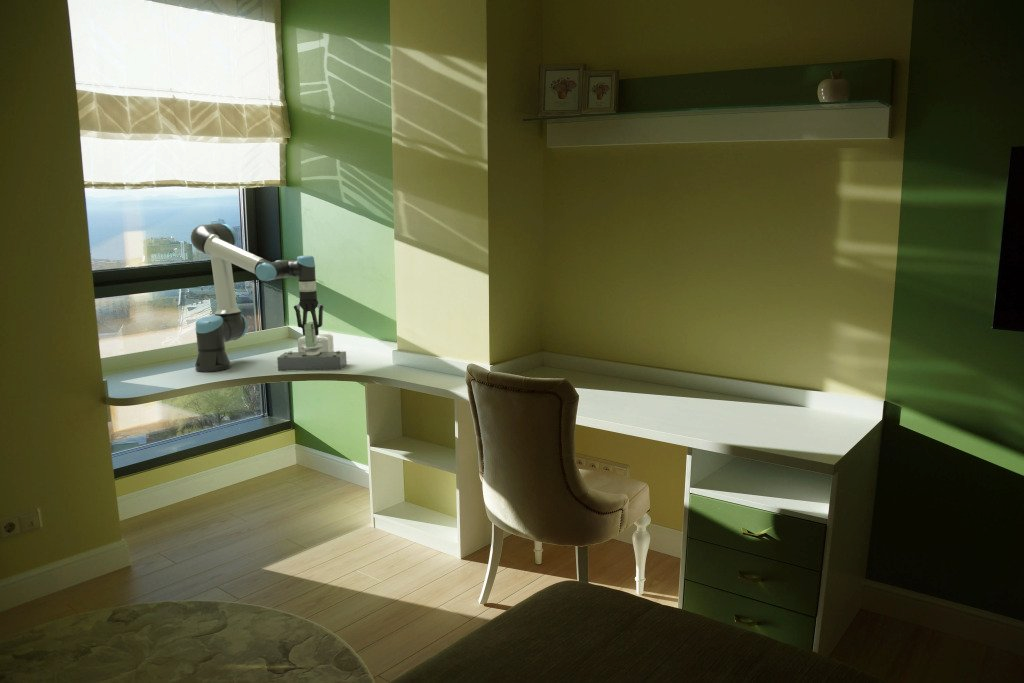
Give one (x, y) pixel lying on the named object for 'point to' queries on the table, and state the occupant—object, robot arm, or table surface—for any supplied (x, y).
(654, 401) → the table surface
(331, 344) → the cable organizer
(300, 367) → the block
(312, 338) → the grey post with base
